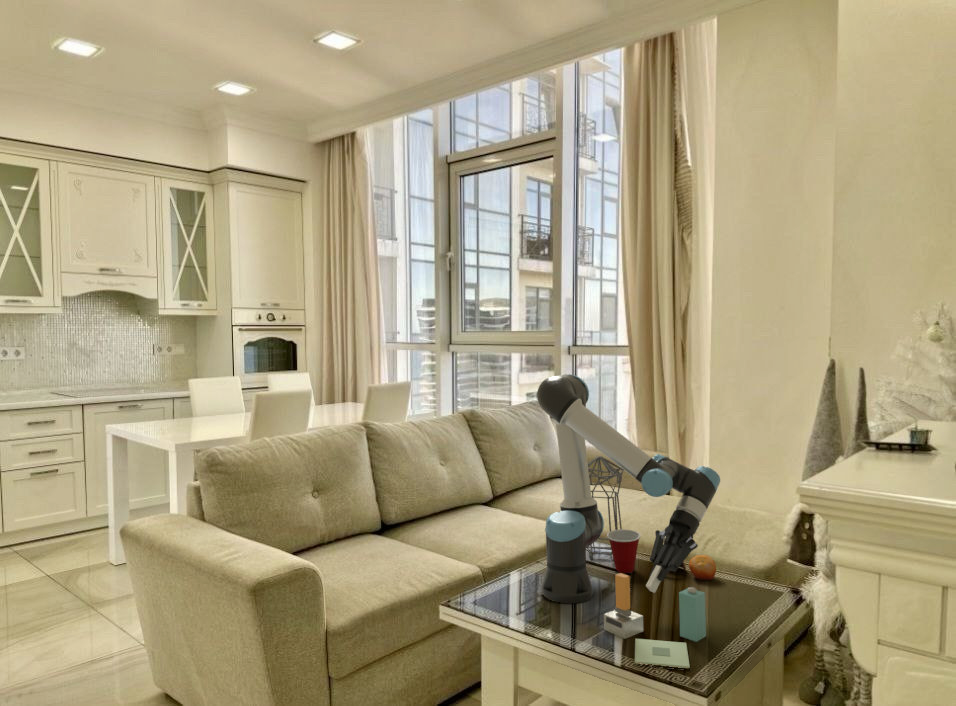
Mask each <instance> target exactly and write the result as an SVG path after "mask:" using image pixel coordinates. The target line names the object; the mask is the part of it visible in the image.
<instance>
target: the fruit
mask: <svg viewBox="0 0 956 706" xmlns="http://www.w3.org/2000/svg"><path fill="white" fill-rule="evenodd" d="M688 569H689V570H690V573H691V575H692V576H693V577H694V578H695V580H698V581H711V580H713V579H714V578H715V576H716V573H717V565H716V562H715V560H714V559H713V558H711V557H710V556H709V555H706V554H697V555H694V556H693V557H692V558H690V560H689V562H688Z"/></svg>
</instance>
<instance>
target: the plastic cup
mask: <svg viewBox="0 0 956 706" xmlns="http://www.w3.org/2000/svg"><path fill="white" fill-rule="evenodd" d="M606 538H609V540H608V541H609V543H610V547H611V549H612V550H611V551H612V554H613V555H612V559H614V560H613V561H614V567H615V571H616V570H617V571H616V572H618V573H622V574H629V573H630V574H631V573H633V572H634V570H635V566H636V564H635V563H636V560H637V553H638V548H639V547H638V546H639V542H640V539H641V533H640V532H639V531H636V530H632V529H627V528H626V529H623V528H622V530H620V529H618V530H615V529H613V530H611V532H610V531H609V532H608V533H607V534H606Z"/></svg>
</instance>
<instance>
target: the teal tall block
mask: <svg viewBox="0 0 956 706" xmlns="http://www.w3.org/2000/svg"><path fill="white" fill-rule="evenodd" d="M678 604H679V605H678V607H679V637H682V638H684V639H688V640H689V641H692V642H697V643H698V642H699V641H701V640H702V639H704V638H705V637H706V636H707V630H706V628H707V624H706V622H707V620H706V592H705V591H700V590H698V589H697V587H694V586H689V587H687V588H686V589H683V590H681V591H679V592H678Z"/></svg>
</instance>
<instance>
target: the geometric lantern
mask: <svg viewBox="0 0 956 706" xmlns="http://www.w3.org/2000/svg"><path fill="white" fill-rule="evenodd" d="M593 464H594V465H593ZM602 464H603V466H604V467H605V470H602ZM592 465H593V467H592V468H590V467H591V466H592ZM596 465H597V469H595V468H596ZM588 471H589V472H590V473H589V480H590V486H594V487H593V488H592V489H591V496H592V498H594V499H596V498H597V499H607V511H608V512H607V513H608V524H609V526H608V527H609V532H611V531H612V526H611V524H612V522H611V508H610V499H612V508H613V519H614V521H613V522H614V527H615V528H614V530H622V529H623V527H622V520H621V519H622V518H621V511H620V509H621V508H620V500H619V499H620V498H619V493H620V489H621V483H622V482H623V481H622V479H623V474H624V471H625V470H624V469H622V468H621V467H620V466H618V465H617V464H616V463H615V462H613V461H611V460H608V459H607V458H605V457H603V456H602V455H601V456H600V455H599V456H595V457H594V458H593V459H592V460H591V461H590V462H588ZM595 472H597V474H596V473H595ZM604 473H605V474H606V473H607V474H608V475H603V474H604ZM592 477H593V478H594V477H595V478H597V482H596V483H593V481H592ZM614 477H616V482H615V483H614V487H612V485H611V483H610V482H609V480H611V479H613V478H614ZM600 480H602V481H600ZM605 482H607V483H608V484H609V486H610V488H611V489H612V490H611V491H610V490H607V491H606V489H605V488H604V486H603V485H602V484H603V483H605ZM617 484H618V489H617V491H615V488H616V485H617ZM597 486H600V487H601V488H602V490H596V488H597ZM594 493H604V494H605V495H606V496H607V497H606V496H594ZM608 493H611V495H609V494H608ZM613 494H614V496H613ZM618 520H619V521H618ZM618 522H619V529H618ZM597 540H603V541H604V540H605V541H606V540H607V541H609V538H608V537H599V538H598V539H597ZM596 549H597V550H608V551H609V552H608V551H600V552H601V553H597V552H599V551H596ZM586 552H588V553H589V558H592V559H594V555H595V554H596V555H609V556H610V560H613V561H614V559H613V554H612V549H611V546H595V542H594V543H593V544H591V545H590V546H589V547H587V548H586ZM591 554H592V555H591ZM592 559H591V560H592ZM597 559H598V560H597V561H606V560H609V559H605V558H597Z"/></svg>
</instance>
